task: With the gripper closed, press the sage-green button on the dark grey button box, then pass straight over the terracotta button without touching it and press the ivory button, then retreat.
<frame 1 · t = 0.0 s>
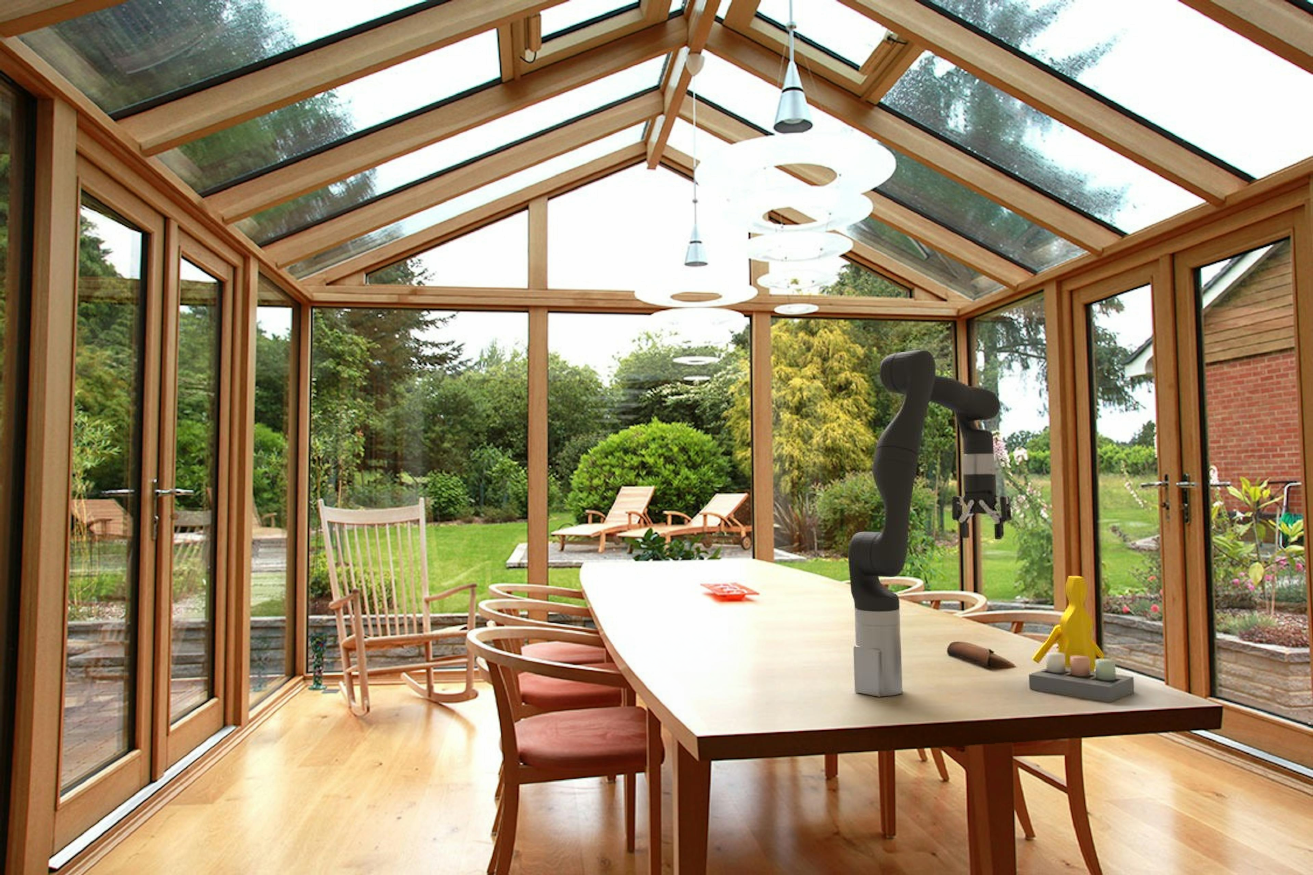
hand: (982, 538, 212), 29 cm above the table, tool pointing down, fingers open, 8 cm apart
figure statuette: (1074, 675, 192), on the table
sunglasses case: (981, 663, 208), on the table
terracotta button: (1080, 665, 178), point 5 cm above the table, slide at 0.0 cm
sage button: (1105, 669, 175), point 5 cm above the table, slide at 0.0 cm
ivory button: (1055, 662, 182), point 5 cm above the table, slide at 0.0 cm
button box: (1081, 690, 178), on the table
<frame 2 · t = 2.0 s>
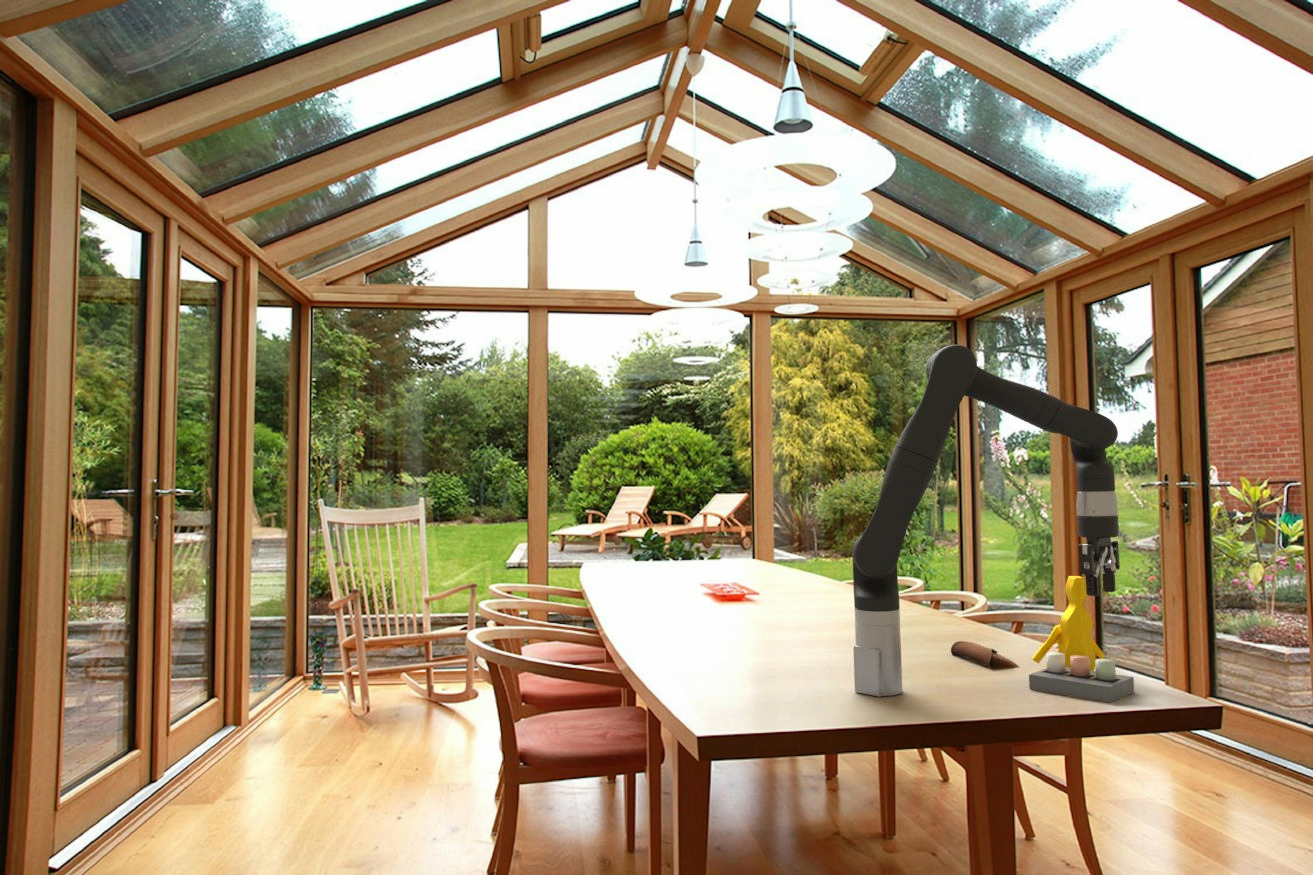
hand: (1101, 593, 176), 20 cm above the table, tool pointing down, fingers open, 8 cm apart
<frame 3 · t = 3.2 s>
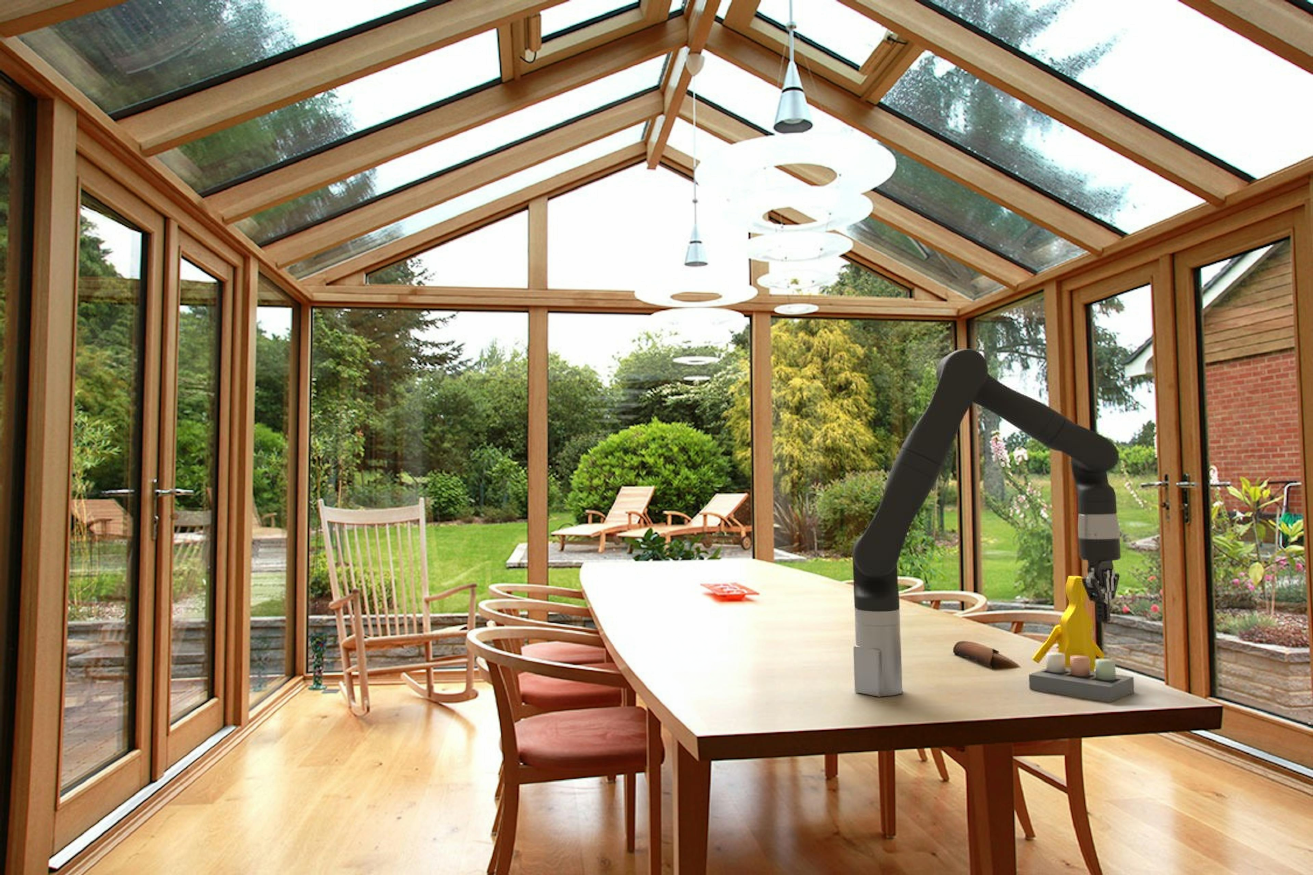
hand: (1103, 621, 175), 15 cm above the table, tool pointing down, fingers closed
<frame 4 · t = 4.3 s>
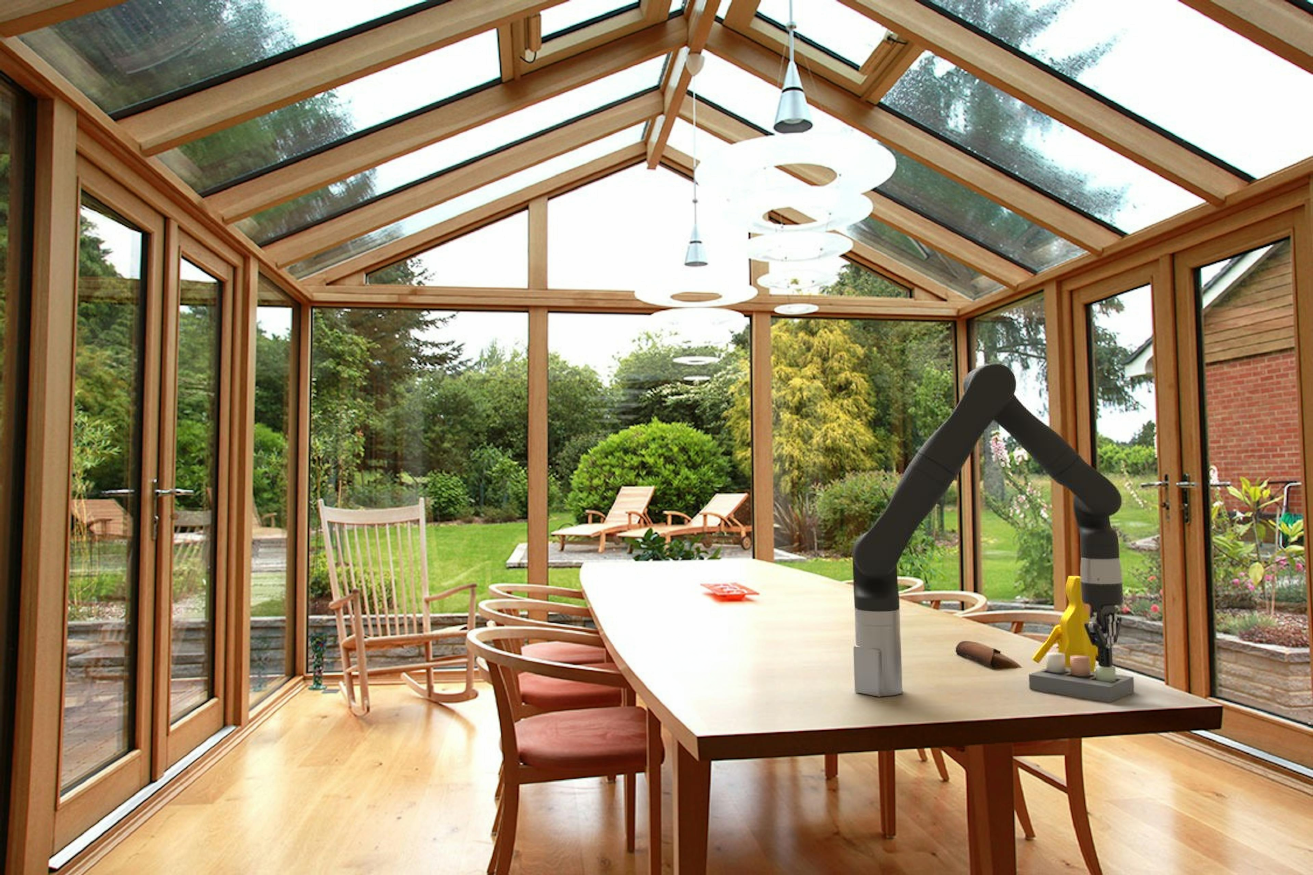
hand: (1105, 666, 175), 6 cm above the table, tool pointing down, fingers closed
sage button: (1105, 674, 175), point 4 cm above the table, slide at 1.2 cm, touching gripper
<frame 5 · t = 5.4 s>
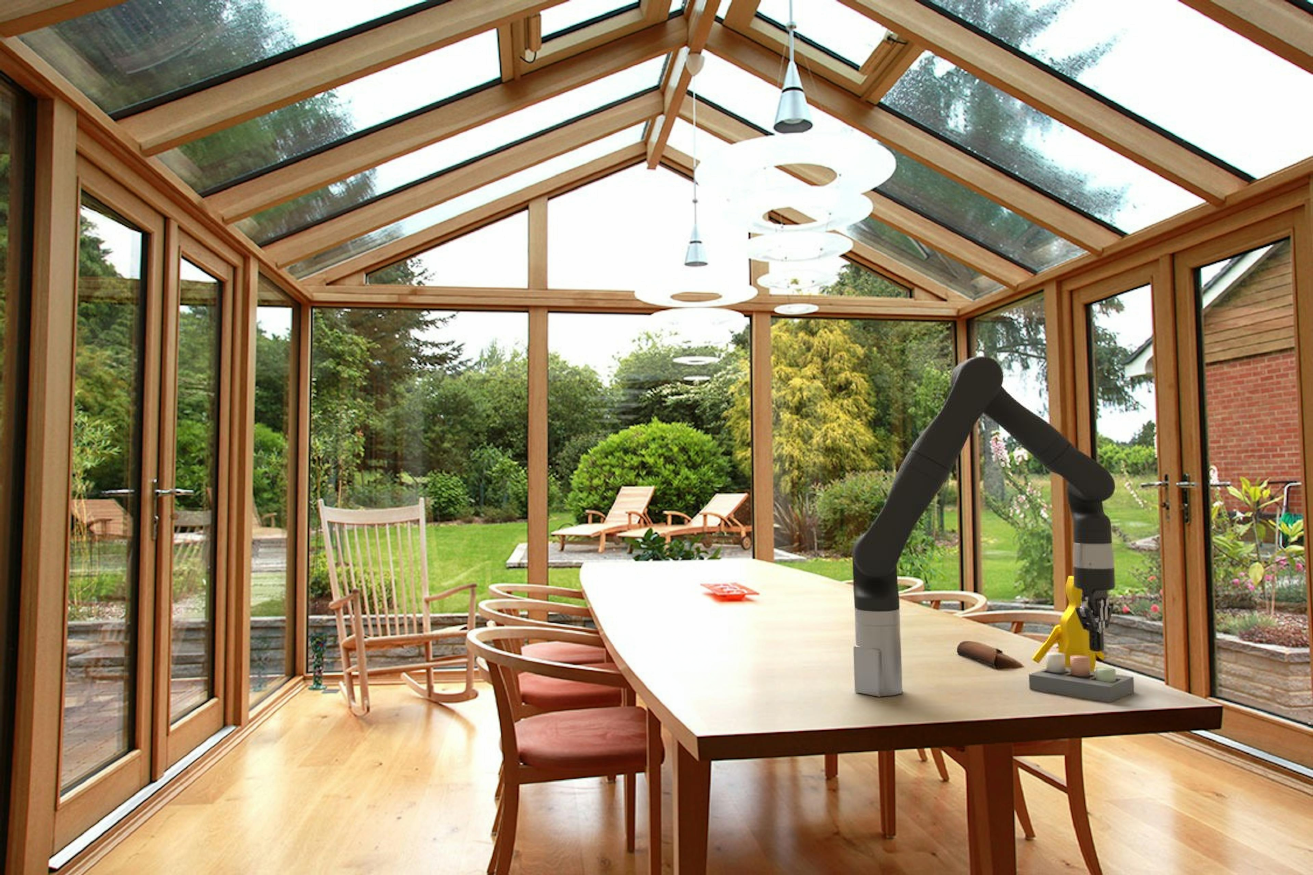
hand: (1096, 650, 176), 9 cm above the table, tool pointing down, fingers closed
sage button: (1105, 677, 174), point 3 cm above the table, slide at 1.7 cm
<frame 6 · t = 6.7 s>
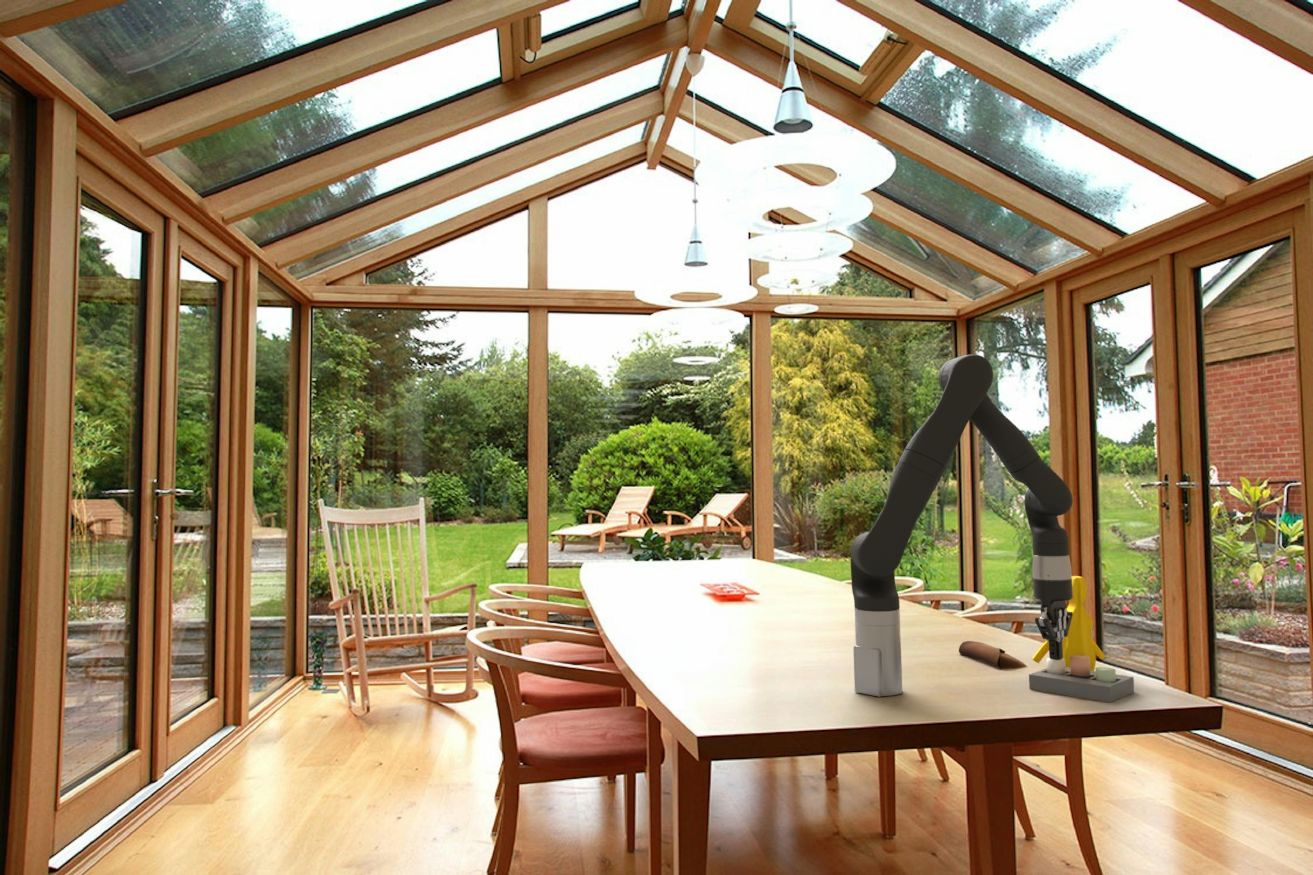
hand: (1056, 658, 182), 6 cm above the table, tool pointing down, fingers closed
ivory button: (1056, 667, 182), point 4 cm above the table, slide at 1.1 cm, touching gripper
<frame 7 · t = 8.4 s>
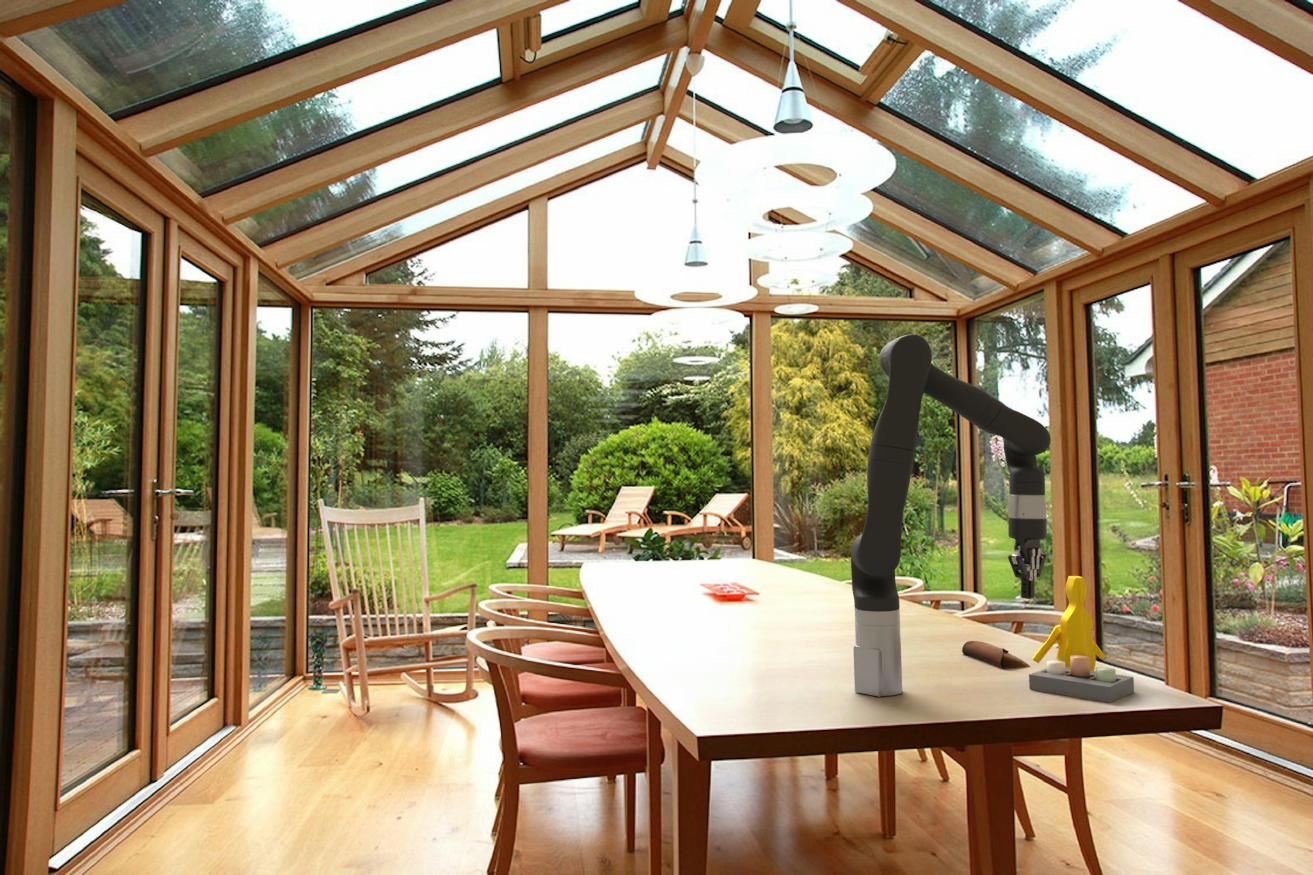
hand: (1027, 598, 183), 19 cm above the table, tool pointing down, fingers closed
ivory button: (1056, 670, 182), point 3 cm above the table, slide at 1.7 cm
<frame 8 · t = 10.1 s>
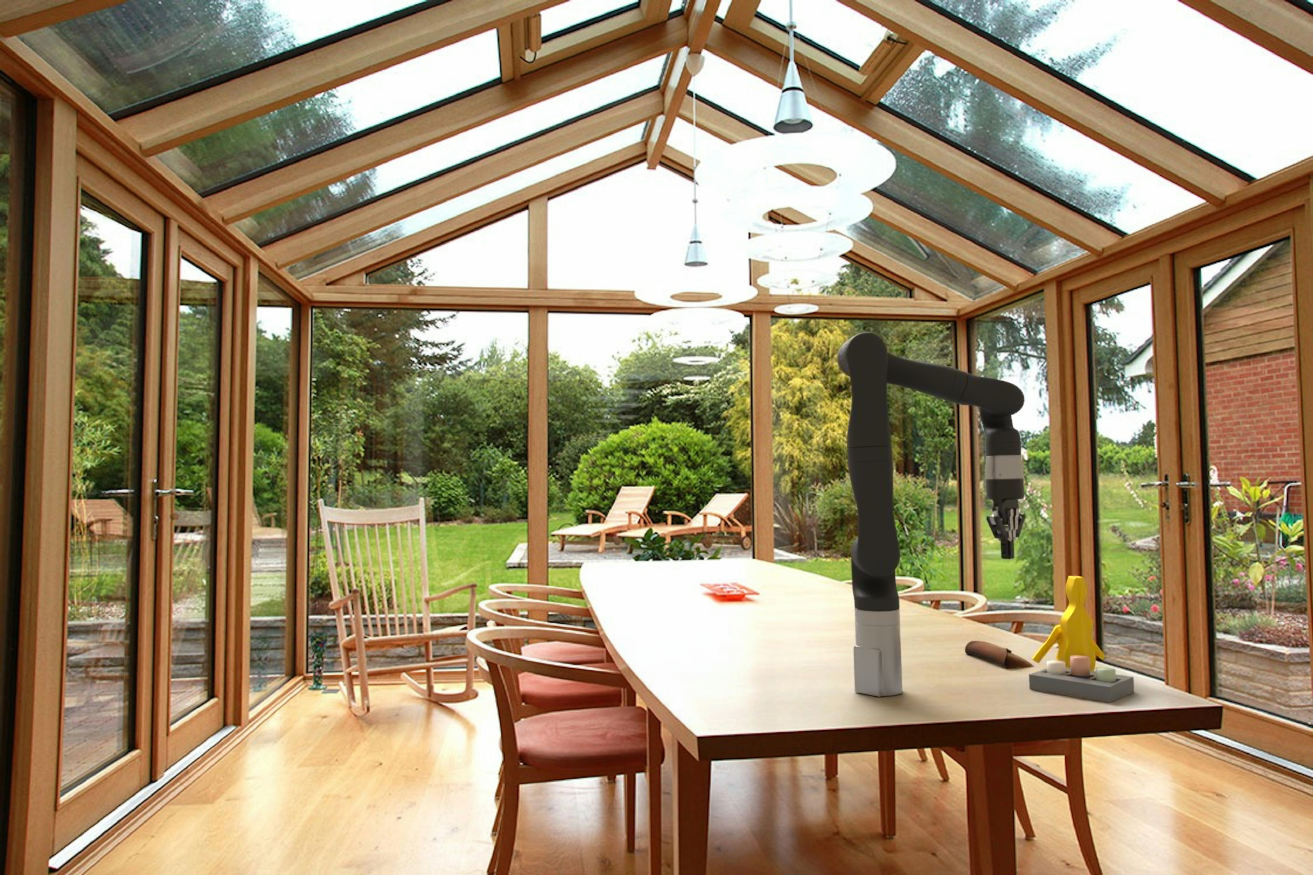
hand: (1007, 558, 183), 27 cm above the table, tool pointing down, fingers closed
at the end: sage button slide at 1.7 cm; ivory button slide at 1.7 cm; terracotta button slide at 0.0 cm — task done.
